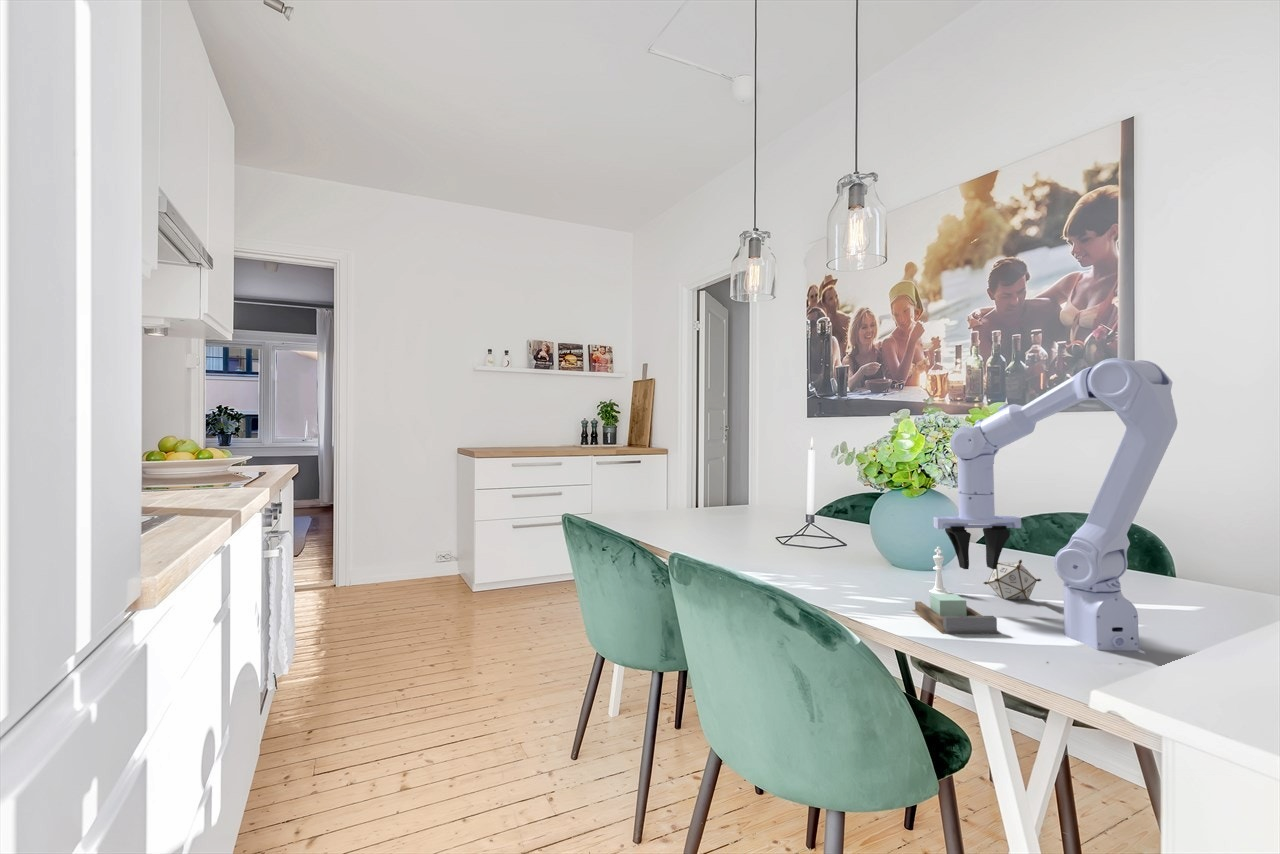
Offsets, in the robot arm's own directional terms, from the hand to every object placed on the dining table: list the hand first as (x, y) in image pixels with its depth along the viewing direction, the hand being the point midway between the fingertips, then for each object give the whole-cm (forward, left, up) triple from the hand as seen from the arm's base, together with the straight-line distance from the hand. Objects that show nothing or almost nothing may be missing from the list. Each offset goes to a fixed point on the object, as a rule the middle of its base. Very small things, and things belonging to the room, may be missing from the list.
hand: (977, 568), depth 110 cm
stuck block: (-5, +7, -7) cm, 12 cm away
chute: (-7, +7, -8) cm, 13 cm away
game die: (+8, -10, -9) cm, 15 cm away
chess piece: (+12, +2, -9) cm, 15 cm away
